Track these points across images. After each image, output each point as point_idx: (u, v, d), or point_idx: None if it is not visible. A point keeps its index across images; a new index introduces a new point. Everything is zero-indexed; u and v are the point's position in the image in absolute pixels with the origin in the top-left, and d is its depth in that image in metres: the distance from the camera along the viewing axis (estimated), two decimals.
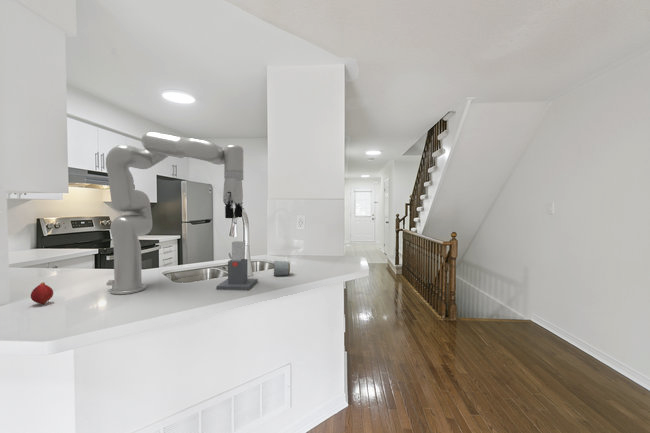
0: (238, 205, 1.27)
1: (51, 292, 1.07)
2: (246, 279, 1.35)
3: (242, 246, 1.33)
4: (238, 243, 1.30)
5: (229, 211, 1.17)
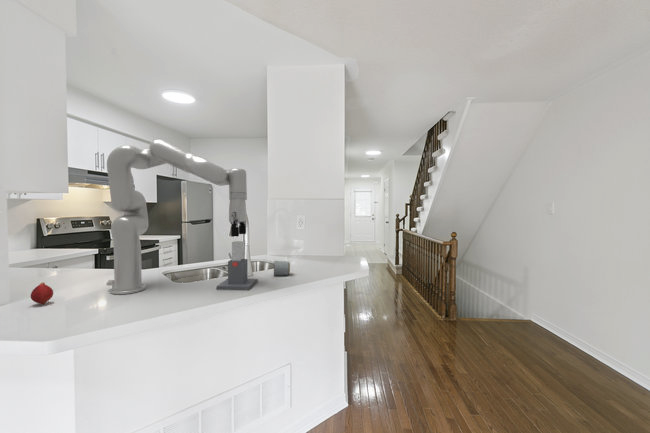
0: (242, 223, 1.37)
1: (51, 292, 1.07)
2: (246, 279, 1.35)
3: (242, 246, 1.33)
4: (238, 243, 1.30)
5: (235, 230, 1.26)
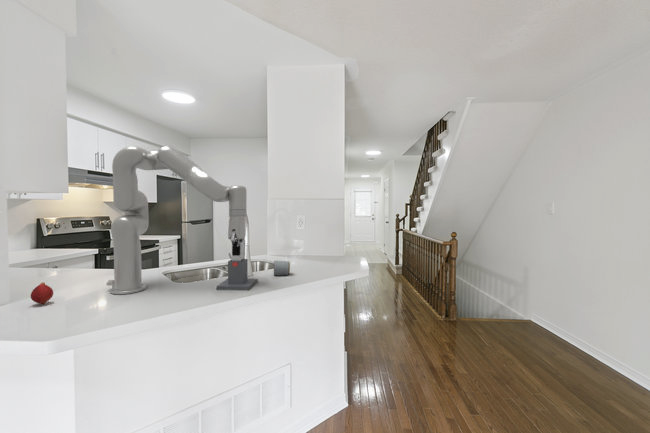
0: None
1: (51, 292, 1.07)
2: (246, 279, 1.35)
3: (242, 246, 1.33)
4: None
5: (236, 249, 1.29)
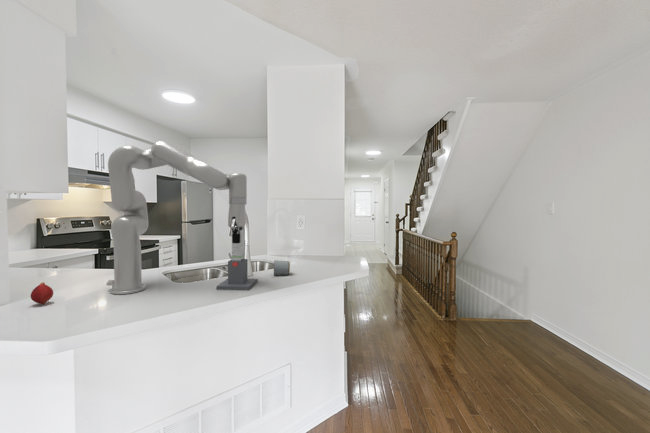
0: None
1: (51, 292, 1.07)
2: (246, 279, 1.35)
3: (242, 234, 1.33)
4: None
5: (236, 237, 1.29)
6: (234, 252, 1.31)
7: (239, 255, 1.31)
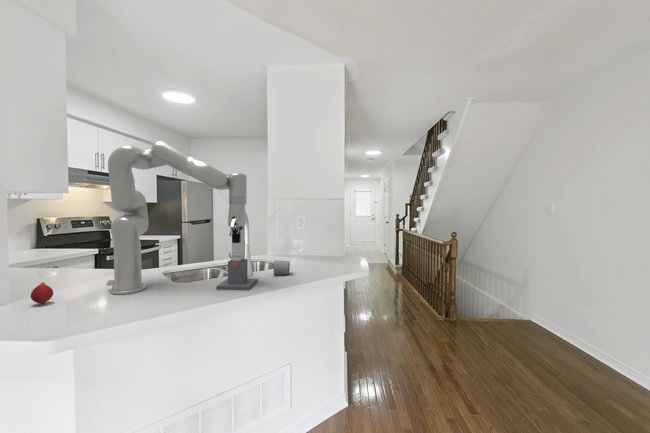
0: None
1: (51, 292, 1.07)
2: (246, 279, 1.35)
3: (242, 234, 1.32)
4: None
5: (235, 237, 1.29)
6: (234, 252, 1.31)
7: (239, 255, 1.31)
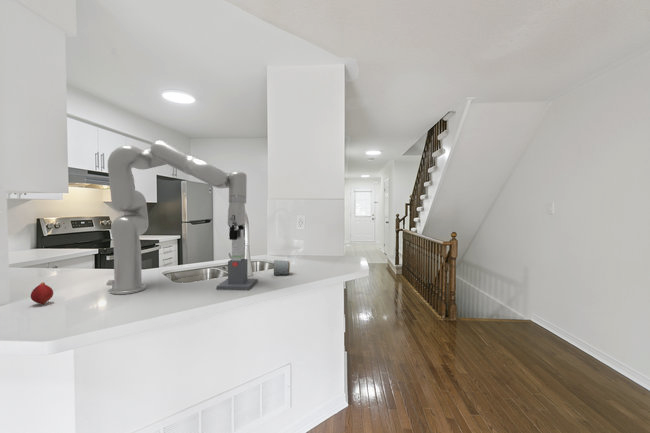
0: (241, 226, 1.37)
1: (51, 292, 1.07)
2: (246, 279, 1.35)
3: (242, 234, 1.32)
4: (238, 231, 1.30)
5: (233, 233, 1.26)
6: (234, 252, 1.31)
7: (239, 255, 1.31)
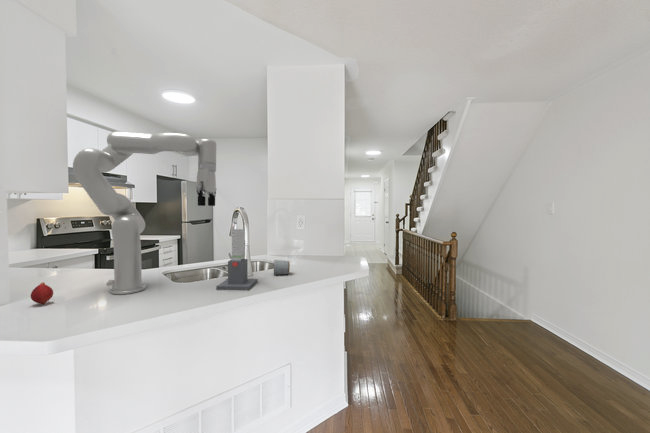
0: (211, 195, 1.38)
1: (51, 292, 1.07)
2: (246, 279, 1.35)
3: (242, 234, 1.32)
4: (238, 231, 1.30)
5: (201, 199, 1.28)
6: (234, 252, 1.31)
7: (239, 255, 1.31)
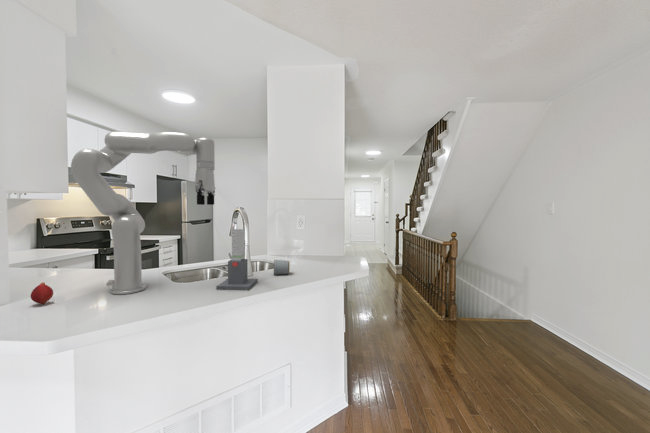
0: (210, 193, 1.39)
1: (51, 292, 1.07)
2: (246, 279, 1.35)
3: (242, 234, 1.32)
4: (238, 231, 1.30)
5: (200, 198, 1.28)
6: (234, 252, 1.31)
7: (239, 255, 1.31)
